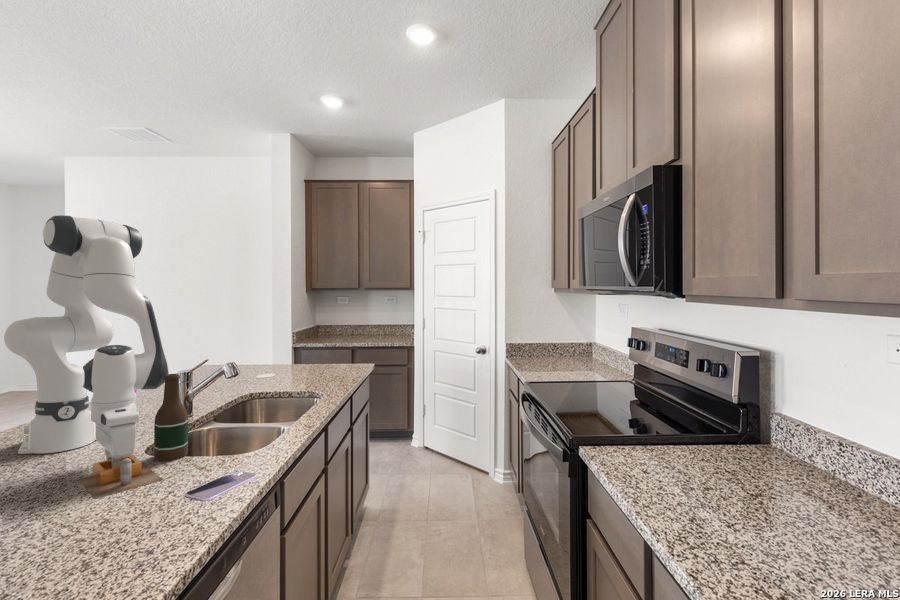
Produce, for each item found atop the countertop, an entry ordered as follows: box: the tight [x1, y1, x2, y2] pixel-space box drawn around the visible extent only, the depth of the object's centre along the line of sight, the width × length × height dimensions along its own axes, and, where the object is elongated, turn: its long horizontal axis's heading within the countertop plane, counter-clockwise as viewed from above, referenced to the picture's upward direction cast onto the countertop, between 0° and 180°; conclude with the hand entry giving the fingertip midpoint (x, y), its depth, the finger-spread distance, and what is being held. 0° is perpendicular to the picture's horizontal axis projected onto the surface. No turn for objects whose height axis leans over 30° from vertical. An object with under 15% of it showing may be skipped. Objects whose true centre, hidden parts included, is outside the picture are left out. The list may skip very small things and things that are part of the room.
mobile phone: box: [184, 470, 258, 502], centre depth 103 cm, size 8×1×15 cm
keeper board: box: [78, 458, 164, 500], centre depth 102 cm, size 16×13×8 cm
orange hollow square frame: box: [92, 454, 143, 485], centre depth 105 cm, size 8×8×3 cm
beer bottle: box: [153, 373, 189, 462], centre depth 117 cm, size 8×8×24 cm
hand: (113, 466), depth 107 cm, fingers open, 3 cm apart
